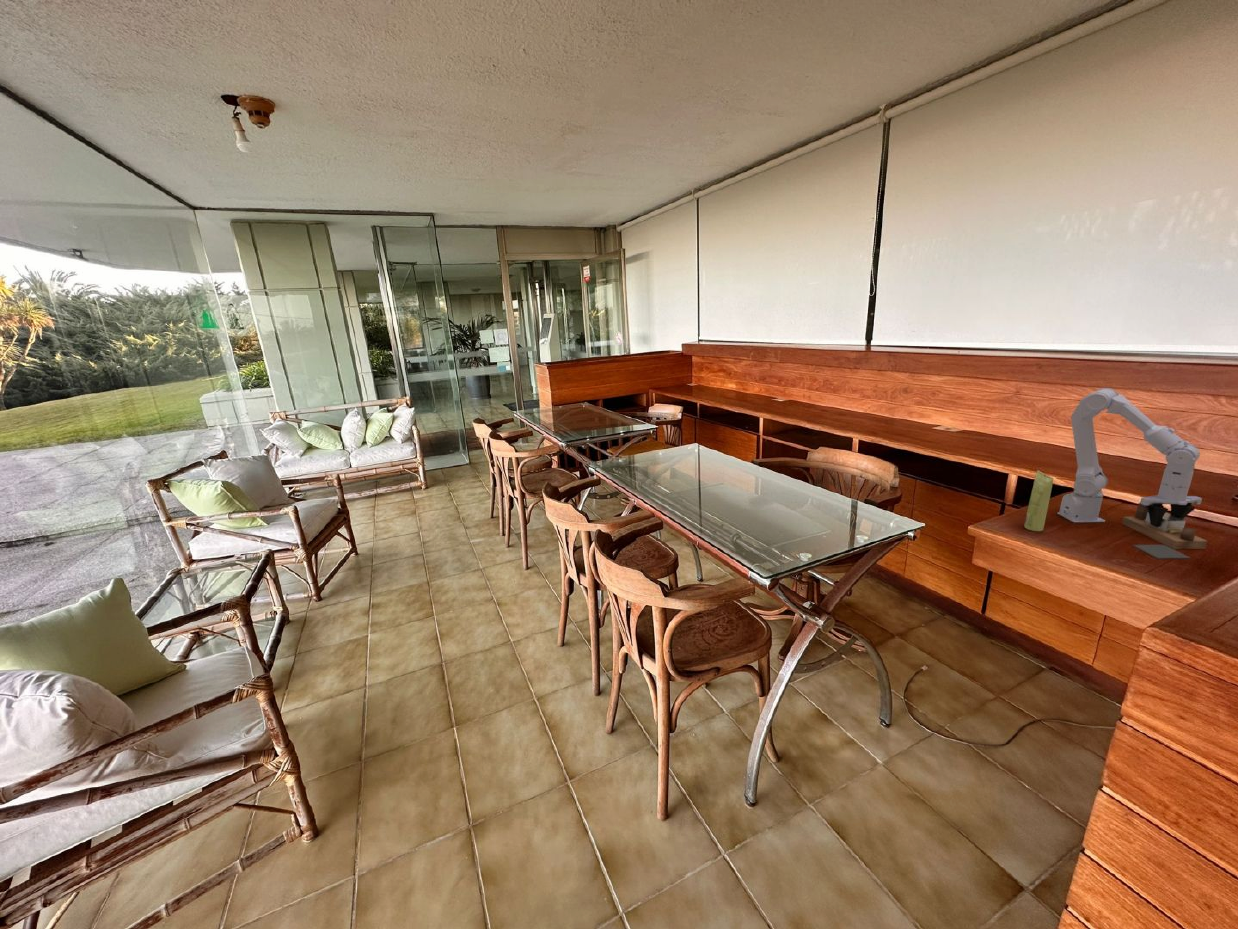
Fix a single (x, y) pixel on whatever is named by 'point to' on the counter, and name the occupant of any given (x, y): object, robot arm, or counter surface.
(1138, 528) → the plane body
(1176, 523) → the lever cap
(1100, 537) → the counter surface
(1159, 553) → the rubber mat
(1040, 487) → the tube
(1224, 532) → the counter surface
